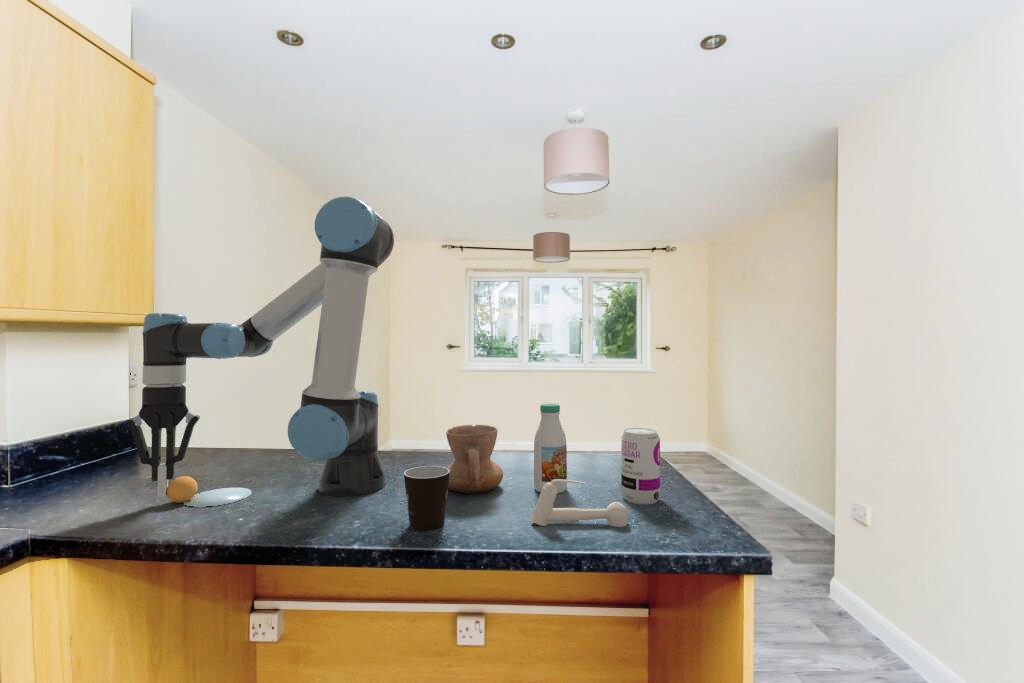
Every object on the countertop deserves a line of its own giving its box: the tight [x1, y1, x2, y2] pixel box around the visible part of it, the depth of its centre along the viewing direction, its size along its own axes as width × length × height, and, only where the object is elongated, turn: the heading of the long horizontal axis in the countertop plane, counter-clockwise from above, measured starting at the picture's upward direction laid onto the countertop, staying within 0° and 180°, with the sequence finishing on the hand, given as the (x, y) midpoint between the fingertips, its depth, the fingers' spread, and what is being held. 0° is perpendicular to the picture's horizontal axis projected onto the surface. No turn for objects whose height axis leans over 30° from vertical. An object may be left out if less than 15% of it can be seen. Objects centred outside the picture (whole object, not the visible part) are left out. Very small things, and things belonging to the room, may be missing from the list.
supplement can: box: [620, 427, 661, 506], centre depth 102 cm, size 8×8×15 cm
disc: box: [182, 487, 253, 508], centre depth 104 cm, size 13×13×1 cm
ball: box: [166, 475, 198, 503], centre depth 101 cm, size 6×6×6 cm
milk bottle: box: [533, 403, 568, 494], centre depth 109 cm, size 8×8×20 cm
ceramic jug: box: [445, 424, 504, 494], centre depth 109 cm, size 18×14×14 cm
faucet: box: [530, 479, 629, 528], centre depth 88 cm, size 4×18×10 cm, turn 91°
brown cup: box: [403, 465, 450, 532], centre depth 89 cm, size 12×9×10 cm
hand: (162, 494), depth 99 cm, fingers closed
